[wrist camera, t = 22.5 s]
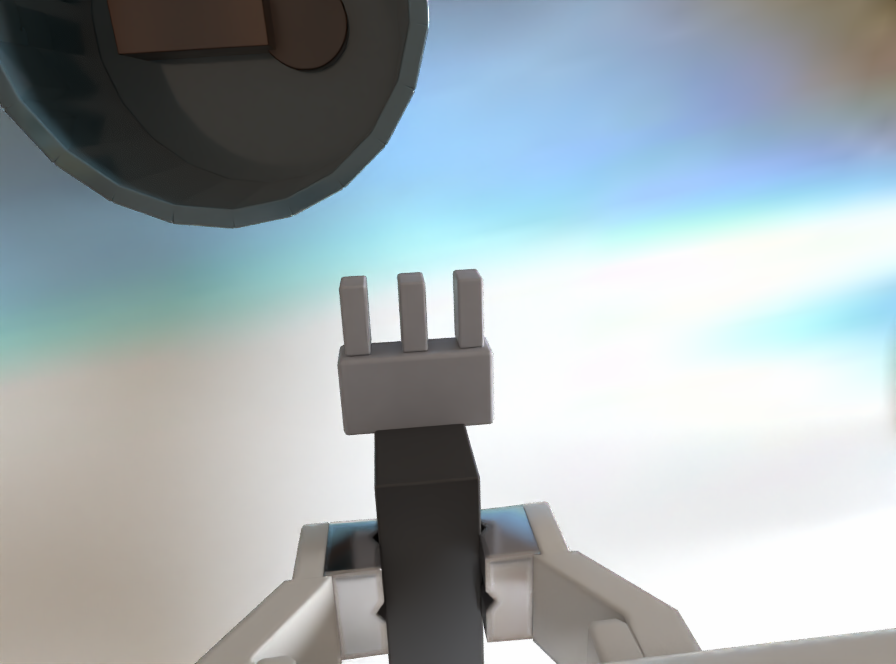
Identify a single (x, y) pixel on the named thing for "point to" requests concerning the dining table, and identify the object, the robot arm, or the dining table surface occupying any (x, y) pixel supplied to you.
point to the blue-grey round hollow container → (206, 112)
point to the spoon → (232, 29)
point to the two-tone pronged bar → (423, 462)
